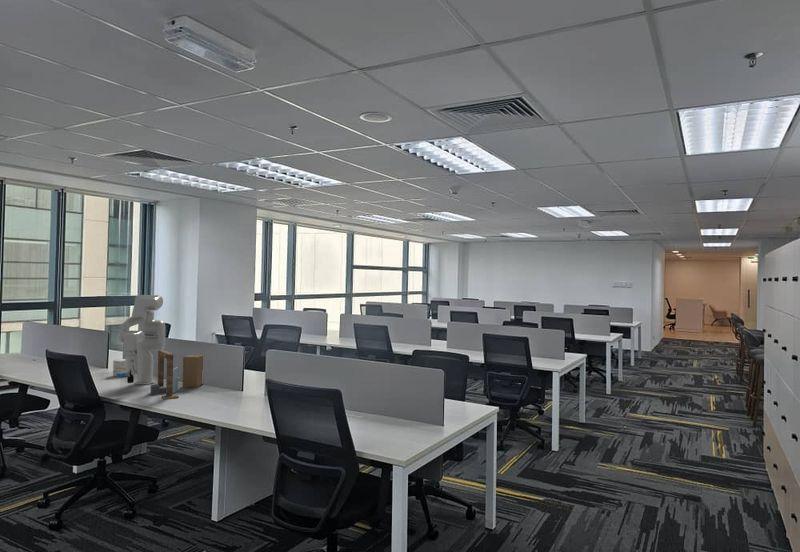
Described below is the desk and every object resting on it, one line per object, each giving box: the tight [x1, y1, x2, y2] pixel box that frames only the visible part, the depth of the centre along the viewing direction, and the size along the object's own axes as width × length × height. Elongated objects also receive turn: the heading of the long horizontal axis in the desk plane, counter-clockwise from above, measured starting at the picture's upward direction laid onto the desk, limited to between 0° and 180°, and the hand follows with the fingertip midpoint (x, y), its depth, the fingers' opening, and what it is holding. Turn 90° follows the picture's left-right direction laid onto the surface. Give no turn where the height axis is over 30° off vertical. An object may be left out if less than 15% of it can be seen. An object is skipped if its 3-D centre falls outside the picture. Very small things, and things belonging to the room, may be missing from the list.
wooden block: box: [182, 354, 204, 388], centre depth 360 cm, size 10×10×20 cm
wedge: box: [150, 383, 166, 396], centre depth 337 cm, size 6×12×5 cm, turn 123°
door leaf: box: [172, 366, 180, 395], centre depth 335 cm, size 18×2×15 cm, turn 6°
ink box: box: [112, 358, 128, 378], centre depth 389 cm, size 9×8×12 cm
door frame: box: [157, 349, 180, 400], centre depth 334 cm, size 31×8×26 cm, turn 38°
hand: (130, 382), depth 329 cm, fingers closed
